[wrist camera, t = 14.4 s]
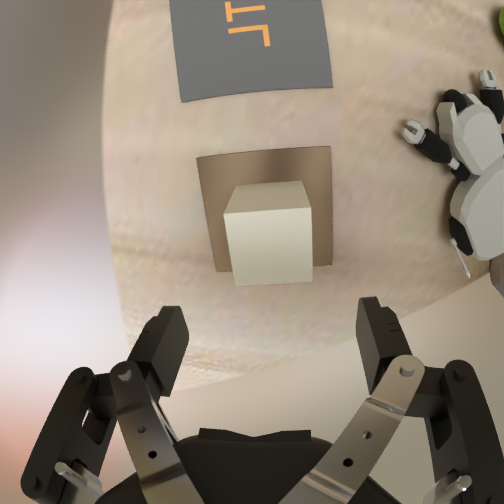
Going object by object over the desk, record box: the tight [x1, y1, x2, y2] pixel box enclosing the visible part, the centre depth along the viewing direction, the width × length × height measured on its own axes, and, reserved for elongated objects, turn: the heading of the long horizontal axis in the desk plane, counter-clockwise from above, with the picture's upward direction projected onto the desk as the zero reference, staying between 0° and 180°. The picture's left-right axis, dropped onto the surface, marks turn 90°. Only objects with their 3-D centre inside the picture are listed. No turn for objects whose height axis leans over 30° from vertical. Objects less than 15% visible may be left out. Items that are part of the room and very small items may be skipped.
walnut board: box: [196, 146, 333, 272], centre depth 23 cm, size 10×10×1 cm
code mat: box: [169, 0, 333, 102], centre depth 16 cm, size 11×11×1 cm
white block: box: [223, 181, 313, 286], centre depth 21 cm, size 5×5×6 cm
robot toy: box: [402, 70, 504, 278], centre depth 18 cm, size 12×4×15 cm
